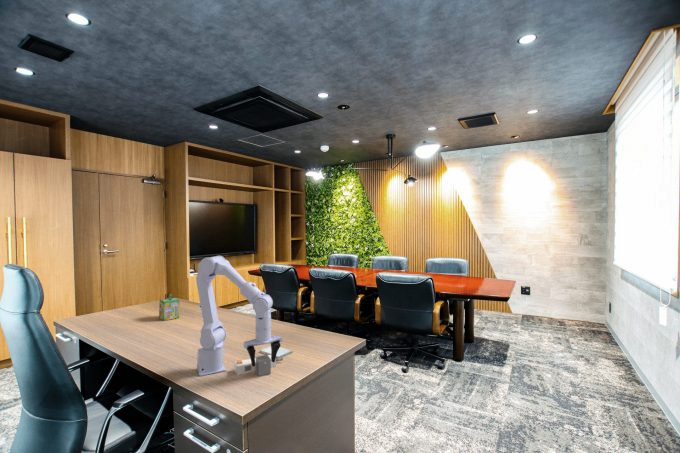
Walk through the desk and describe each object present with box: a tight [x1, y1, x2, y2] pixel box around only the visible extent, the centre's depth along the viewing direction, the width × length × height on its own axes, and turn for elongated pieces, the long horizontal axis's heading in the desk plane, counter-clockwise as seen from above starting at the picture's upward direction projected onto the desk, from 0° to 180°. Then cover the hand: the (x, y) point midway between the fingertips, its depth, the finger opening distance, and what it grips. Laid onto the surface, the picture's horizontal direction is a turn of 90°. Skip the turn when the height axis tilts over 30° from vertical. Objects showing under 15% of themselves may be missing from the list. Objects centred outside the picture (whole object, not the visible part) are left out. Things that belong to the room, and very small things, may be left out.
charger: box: [255, 354, 272, 377], centre depth 126 cm, size 4×7×6 cm, turn 30°
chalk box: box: [158, 293, 180, 321], centre depth 201 cm, size 9×9×15 cm
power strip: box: [233, 355, 284, 376], centre depth 130 cm, size 19×5×4 cm, turn 120°
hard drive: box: [259, 345, 294, 359], centre depth 146 cm, size 2×8×12 cm
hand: (263, 363), depth 125 cm, fingers open, 7 cm apart
